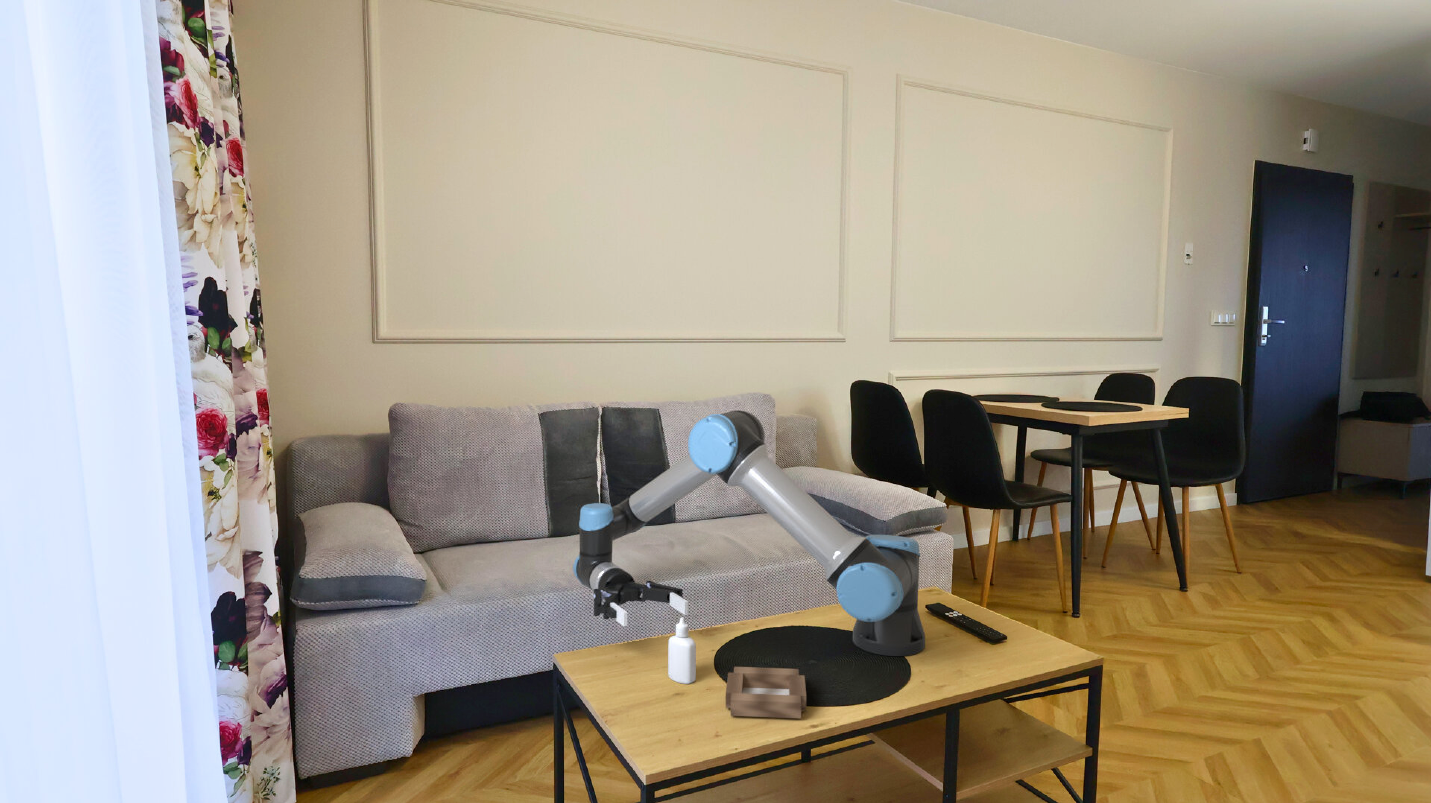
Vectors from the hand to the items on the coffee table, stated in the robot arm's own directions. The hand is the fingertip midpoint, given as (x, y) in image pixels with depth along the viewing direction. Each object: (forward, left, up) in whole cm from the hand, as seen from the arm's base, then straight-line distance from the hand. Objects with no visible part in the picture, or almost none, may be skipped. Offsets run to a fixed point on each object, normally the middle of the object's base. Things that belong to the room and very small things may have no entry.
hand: (656, 613), depth 164 cm
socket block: (-22, +16, -10) cm, 29 cm away
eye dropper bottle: (-6, +8, -10) cm, 14 cm away
